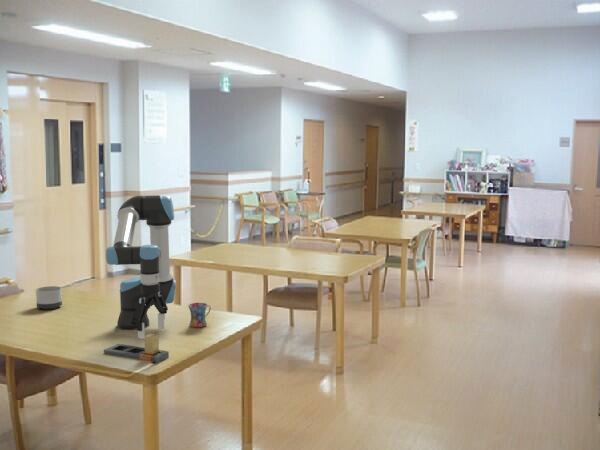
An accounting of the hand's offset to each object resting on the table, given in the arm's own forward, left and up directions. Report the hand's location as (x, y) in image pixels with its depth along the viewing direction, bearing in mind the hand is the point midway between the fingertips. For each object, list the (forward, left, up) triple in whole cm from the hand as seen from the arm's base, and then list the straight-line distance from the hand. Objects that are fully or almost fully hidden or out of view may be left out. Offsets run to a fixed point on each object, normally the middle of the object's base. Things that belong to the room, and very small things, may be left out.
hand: (151, 333), depth 259 cm
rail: (-8, 0, -11) cm, 13 cm away
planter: (-101, +47, -11) cm, 112 cm away
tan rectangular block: (0, 0, -10) cm, 10 cm away
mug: (-8, +50, -11) cm, 52 cm away
